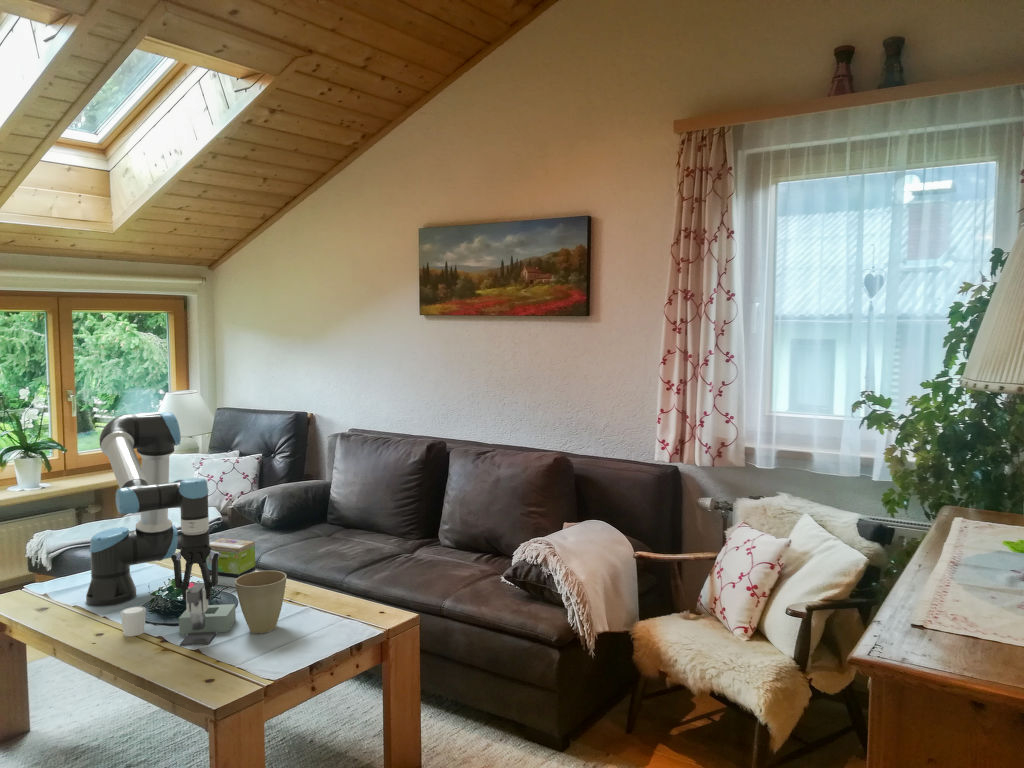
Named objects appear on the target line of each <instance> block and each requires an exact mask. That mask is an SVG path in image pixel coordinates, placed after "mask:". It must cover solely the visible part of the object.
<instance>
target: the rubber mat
mask: <svg viewBox="0 0 1024 768" xmlns="http://www.w3.org/2000/svg"><path fill="white" fill-rule="evenodd" d="M216 635H217V632H201V633H188V634H186V635H185V637H184V638H183V639H182V640H181V642H180V643H179V646H180V647H185V646H186V647H187V646H202V645H203V646H205V645H206V646H207V645H210V644H211V642H212V640H213V639H214V637H215V636H216Z"/></svg>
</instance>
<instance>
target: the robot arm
mask: <svg viewBox="0 0 1024 768" xmlns="http://www.w3.org/2000/svg"><path fill="white" fill-rule="evenodd" d="M180 429H181V428H180V425H179V422H178V419H177V417H176V415H175V414H174V413H173V412H170V411H168V412H167V411H163V412H162V411H157V412H142V413H141V412H140V413H125V414H121V415H119V416H116V417H114V418H113V419H112V420H111V419H110V421H109V422H108V423H107V424H106V425H105V426H104V427H103V429H102V430H101V433H100V435H99V446H100V449H101V452H102V453H103V454H104V455H105V456H106V457H107V458H108V460H109V463H110V466H111V469H112V472H113V475H114V477H115V480H116V482H117V484H118V487H119V488H118V489H116V491H115V505H116V510H117V512H118V513H119V514H121V515H125V514H126V515H127V514H137V513H140V520H139V521H138V522H136V523H135V530H129V528H127V527H125V526H122V527H114V528H113V527H112V528H108V529H104V530H102V531H99V532H98V533H95V534H94V535H93V536H92V537H91V538H90V543H89V544H90V545H89V552H90V572H91V573H90V574H91V576H90V577H91V578H90V579H91V580H90V582H89V586H88V588H87V592H86V596H85V597H86V599H85V600H86V604H87V605H88V606H95V607H103V606H104V607H105V606H106V607H107V606H113V605H114V606H115V605H118V604H123V603H125V602H129V601H131V600H132V599H135V597H137V587H136V585H135V583H134V579H133V577H132V574H131V570H130V569H131V567H130V566H135V565H141V564H146V563H151V562H153V563H154V562H160V561H161V562H162V561H164V560H168V559H171V560H172V563H173V572H174V573H173V574H174V585H175V586H174V587H175V588H176V589H181V590H182V600H183V601H185V603H186V605H185V607H186V609H187V612H190V603H187V592H188V591H189V590H190V589H191V588H192V587H189V586H190V580H191V576H192V575H191V574H192V570H193V566H194V564H198V567H199V568H200V573H201V577H202V581H203V583H204V585H205V587H204V589H203V612H204V611H207V609H208V605H209V600H210V599H211V598H212V588H213V587H216V586H217V585H216V584H217V583H218V558H219V556H220V552H219V551H217V552H215V551H212V550H211V548H210V546H209V543H210V532H209V529H210V523H209V522H210V521H209V520H210V518H209V517H210V516H209V487H208V481H207V479H205V478H202V477H201V478H200V477H191V478H184V479H176V480H174V481H173V482H170V481H169V480H170V456H171V455H172V454H174V453H175V447H176V446H180V444H181V441H182V439H181V438H182V437H181V436H182V435H181V430H180ZM135 449H136V451H135ZM137 454H138V455H139V456H140V457H141V464H140V461H139V459H138V456H137ZM175 508H179V509H180V510H179V511H180V531H181V533H182V534H181V535H180V537H181V539H180V540H181V549H180V551H178V552H176V551H177V548H178V541H179V540H178V539H179V538H178V535H179V534H178V528H177V527H176V525H174V524H173V522H172V520H171V519H169V509H175ZM209 554H210V555H211V559H212V577H211V579H210V575H209V571H208V567H207V561H206V558H207V557H208V556H209ZM182 558H183V559H184V561H185V565H184V566H185V567H184V574H183V575H182V562H181V559H182ZM182 576H183V577H182ZM186 609H185V610H186Z"/></svg>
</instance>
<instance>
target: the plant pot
mask: <svg viewBox="0 0 1024 768" xmlns="http://www.w3.org/2000/svg"><path fill="white" fill-rule="evenodd" d="M286 583H287V573H285V572H283V571H279V570H258V571H255V572H252V573H248V574H245V575H242V576H240V577H238V578H237V579H236V580H235V585H236V587H235V589H236V590H235V591H236V594H237V599H238V602H239V606H240V610H241V612H242V615H243V618H244V620H245V622H246V625H247V628H248V630H249V631H250V632H251V633H252V634H267V633H270V632H272V631H274V630H275V629H276V628H277V624H278V621H279V618H280V615H281V611H282V607H283V602H284V597H285V592H286Z"/></svg>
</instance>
